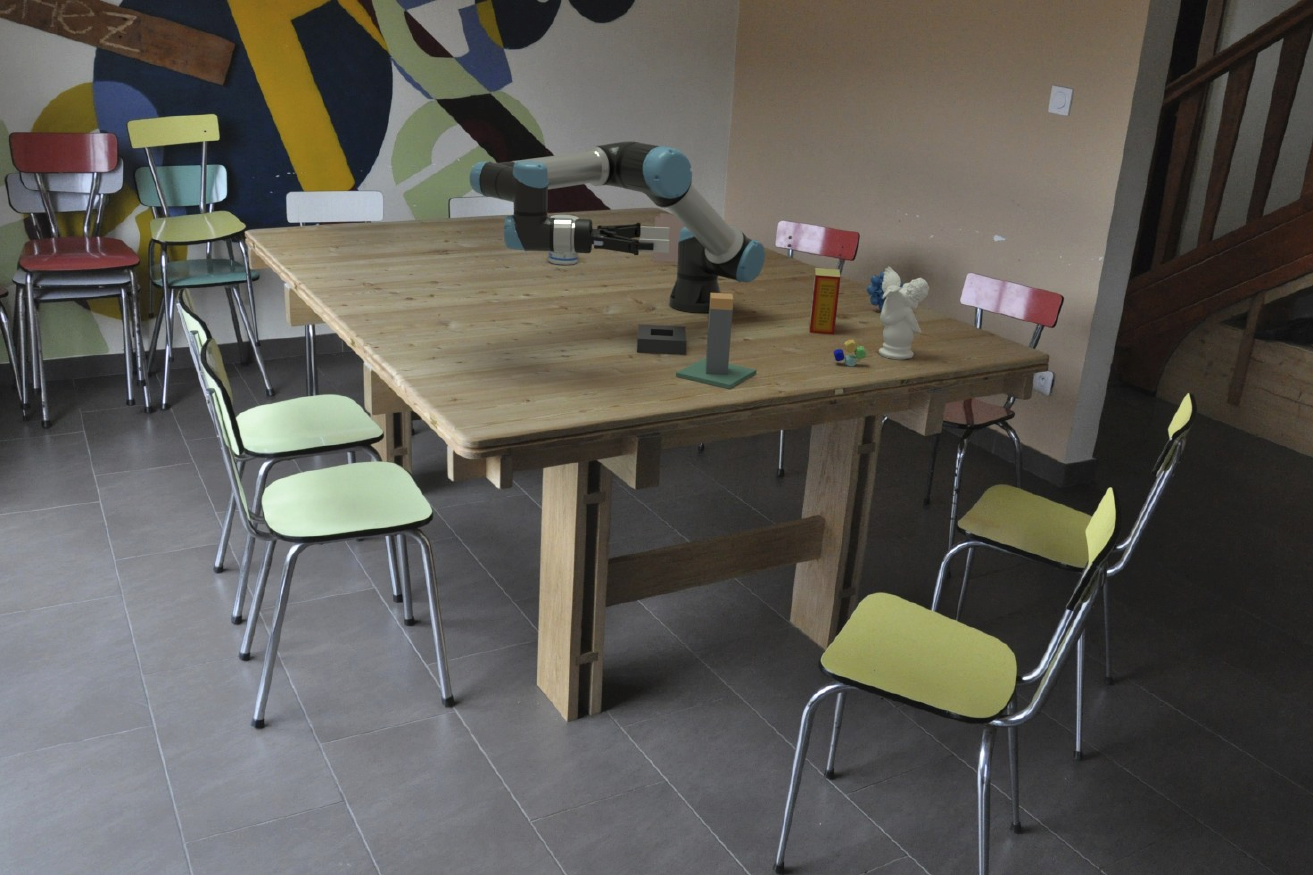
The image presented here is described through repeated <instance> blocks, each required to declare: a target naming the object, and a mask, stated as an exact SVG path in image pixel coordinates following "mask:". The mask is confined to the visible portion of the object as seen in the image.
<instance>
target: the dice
mask: <svg viewBox="0 0 1313 875" xmlns="http://www.w3.org/2000/svg"><path fill="white" fill-rule="evenodd" d="M844 346H845V349H846V350H847V353H848V355H845V354H844V350H843V349H842V348H838V349H834V350H833V357H834V360H835V362H841V361H844V365H845V366H847V367H856V364H857V360H863V359H865V358H866V357H867V353H866V349H865V346H862V345H861V346H857V345H856V342H855V340H854V339H848V340H847V341H845V342H844ZM849 353H854V355H852V354H849Z"/></svg>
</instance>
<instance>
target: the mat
mask: <svg viewBox="0 0 1313 875" xmlns="http://www.w3.org/2000/svg"><path fill="white" fill-rule="evenodd" d="M705 366H706V357H704V358H702V359H700V360H699V361H696V362H694V363H692V364H690V365H688V366H686V367H683V368H682V369H680V370H678V371H676V372H675V377H676V378H680V379H684V380H689V381H694V382H696V383H697V382H698V383H702V384H706V385H711V386H714V387H715V386H716V387H719V388H723V389H724V388H725V389H728V390H731V389H732V388H734V387H735V386H737V385H739V384H741V383H743V382H744V381H746V380H748V379H750V378H752V377H753V376H755V375H756V374H757V369H755V368H751V367H746V366H741V365H737V364H732V363H728V375H719V374H706V368H705Z"/></svg>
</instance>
